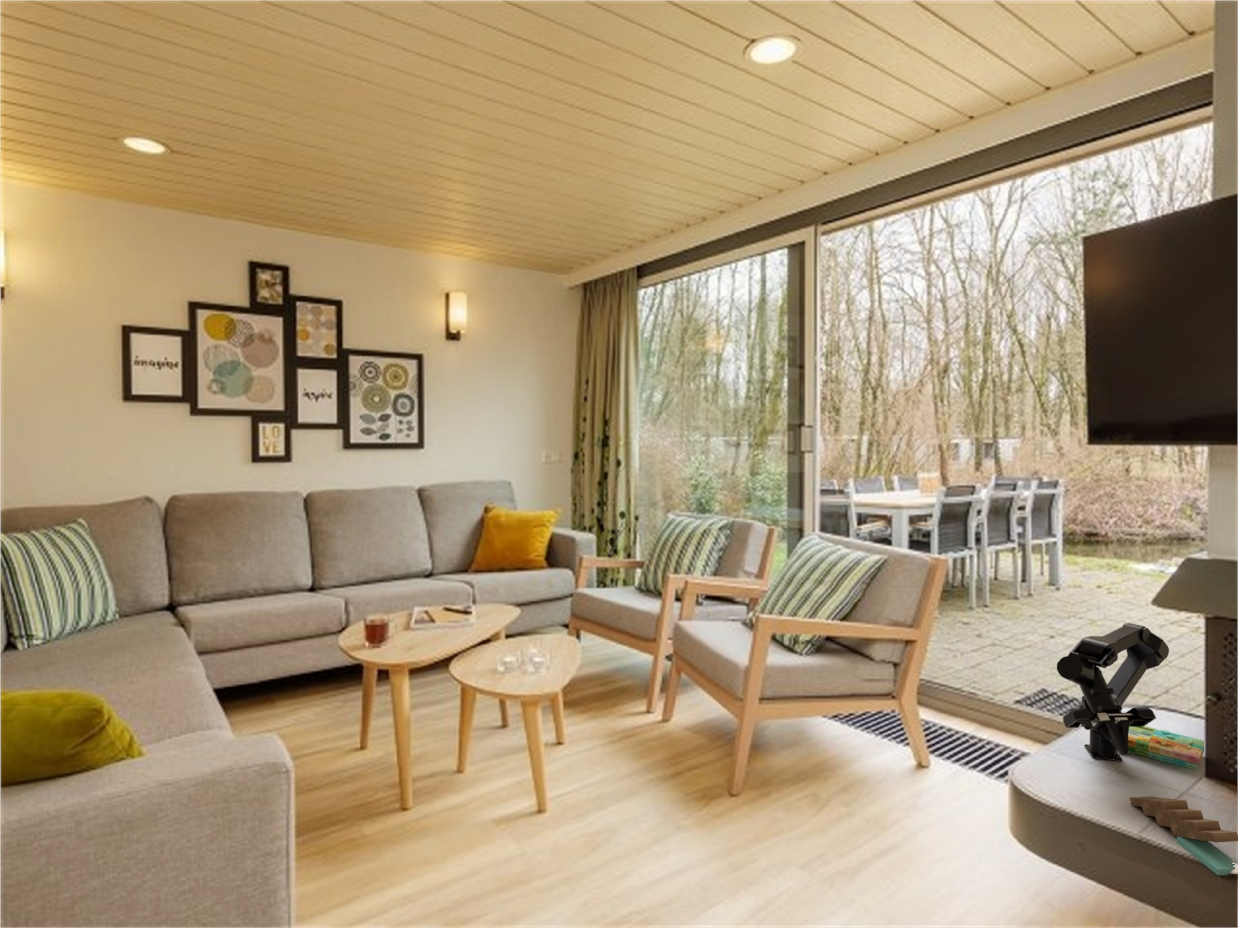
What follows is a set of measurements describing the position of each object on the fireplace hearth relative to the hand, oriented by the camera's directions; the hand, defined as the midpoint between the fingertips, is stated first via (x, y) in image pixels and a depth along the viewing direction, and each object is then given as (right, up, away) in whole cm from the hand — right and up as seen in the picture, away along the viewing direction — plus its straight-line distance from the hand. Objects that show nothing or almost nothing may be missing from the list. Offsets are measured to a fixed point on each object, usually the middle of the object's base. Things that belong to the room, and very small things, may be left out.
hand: (1125, 754), depth 159 cm
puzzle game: (+20, -7, +18) cm, 28 cm away
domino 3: (0, -9, -12) cm, 15 cm away
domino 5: (0, -10, -18) cm, 21 cm away
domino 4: (0, -9, -16) cm, 18 cm away
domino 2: (0, -9, -8) cm, 12 cm away
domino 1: (0, -8, -5) cm, 10 cm away
